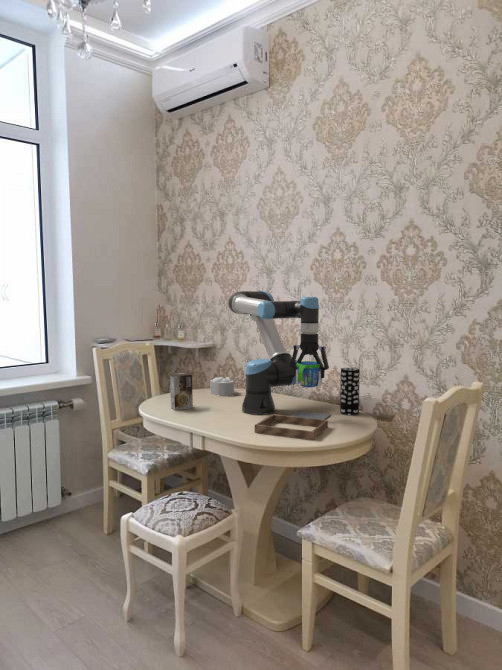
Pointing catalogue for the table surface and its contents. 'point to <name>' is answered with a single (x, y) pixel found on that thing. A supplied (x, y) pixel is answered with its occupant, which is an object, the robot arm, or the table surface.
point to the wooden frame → (287, 432)
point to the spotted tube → (349, 391)
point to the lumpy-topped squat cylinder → (222, 386)
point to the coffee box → (181, 391)
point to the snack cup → (308, 373)
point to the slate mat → (311, 415)
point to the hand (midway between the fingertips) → (308, 384)
